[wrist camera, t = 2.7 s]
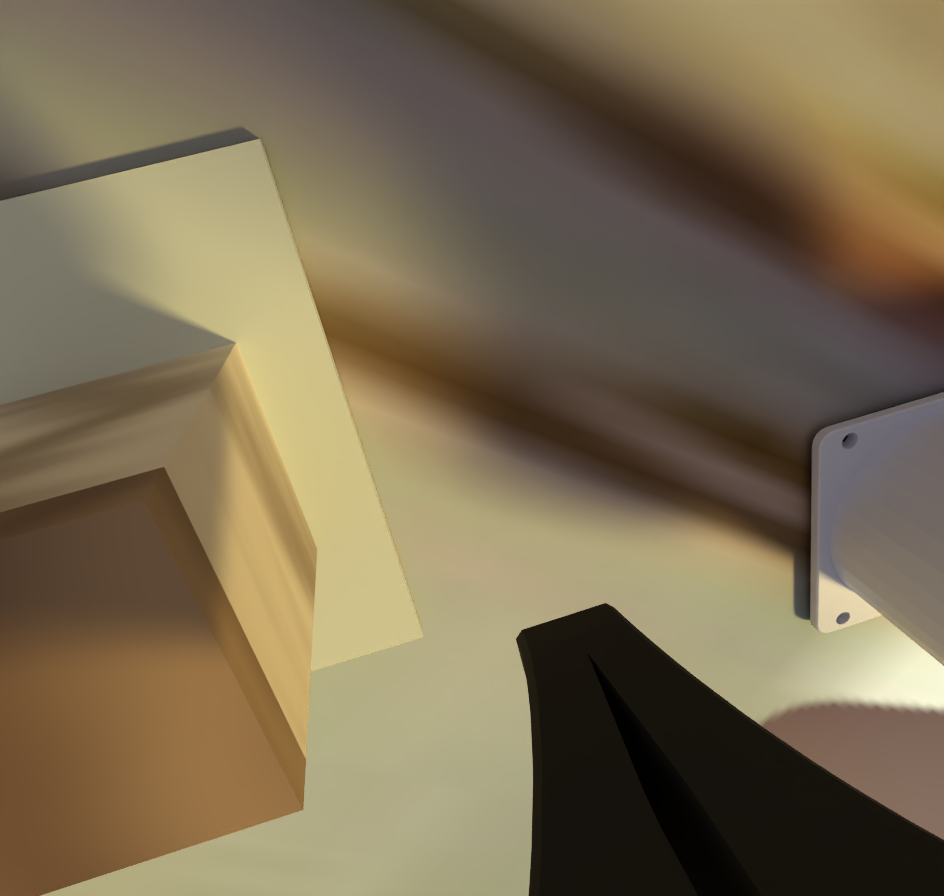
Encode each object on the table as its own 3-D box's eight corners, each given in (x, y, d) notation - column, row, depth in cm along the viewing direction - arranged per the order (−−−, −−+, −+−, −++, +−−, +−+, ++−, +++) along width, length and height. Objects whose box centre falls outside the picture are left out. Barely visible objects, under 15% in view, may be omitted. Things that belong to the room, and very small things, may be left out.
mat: (261, 139, 14) (259, 139, 14) (421, 628, 20) (423, 636, 20) (-648, 357, 13) (-677, 363, 12) (-183, 814, 19) (-193, 827, 18)
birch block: (236, 342, 15) (144, 500, 8) (317, 548, 18) (302, 809, 11) (-24, 411, 15) (-370, 645, 8) (98, 613, 17) (-73, 931, 10)
